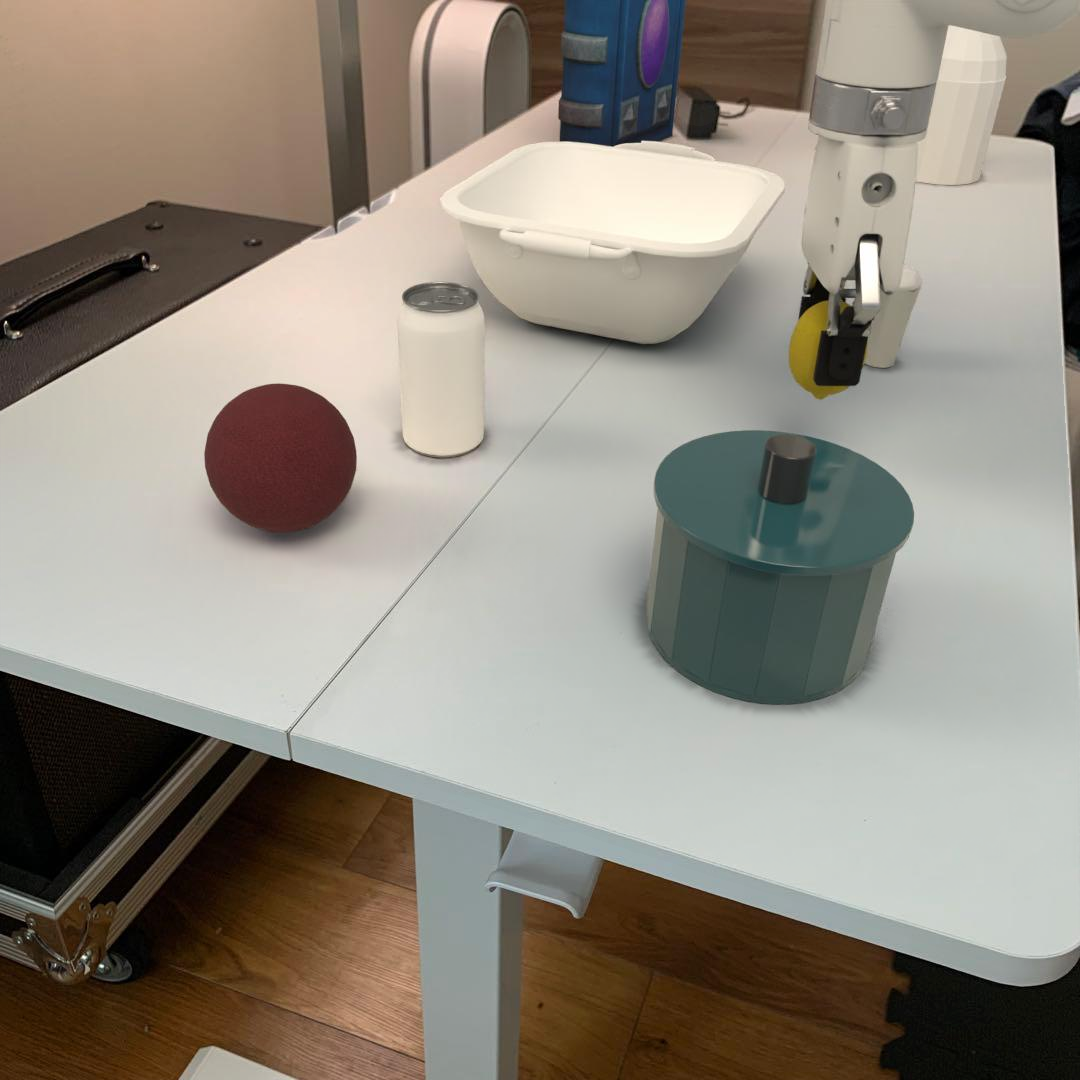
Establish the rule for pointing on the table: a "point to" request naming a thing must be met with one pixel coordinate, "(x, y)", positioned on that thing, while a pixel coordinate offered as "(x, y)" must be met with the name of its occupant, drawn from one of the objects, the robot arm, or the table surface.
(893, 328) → the milkshake
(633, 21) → the book
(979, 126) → the container
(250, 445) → the decorative ball
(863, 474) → the pot lid
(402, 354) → the can
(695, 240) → the white plastic basin
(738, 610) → the enamel pot
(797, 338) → the lemon
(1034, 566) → the table surface
